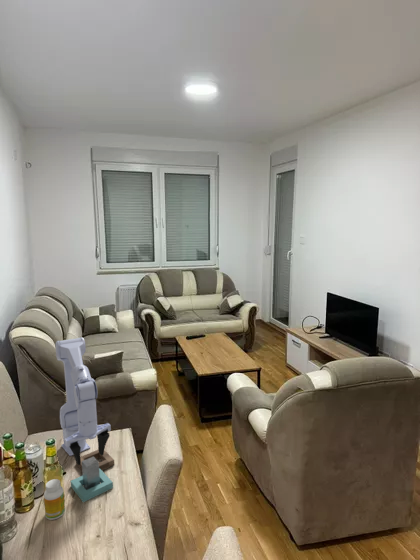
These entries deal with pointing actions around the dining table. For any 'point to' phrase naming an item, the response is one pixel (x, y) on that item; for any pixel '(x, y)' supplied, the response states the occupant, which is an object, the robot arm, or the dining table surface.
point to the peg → (90, 473)
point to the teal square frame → (94, 491)
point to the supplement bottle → (54, 500)
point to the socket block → (106, 458)
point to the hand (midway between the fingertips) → (90, 458)
